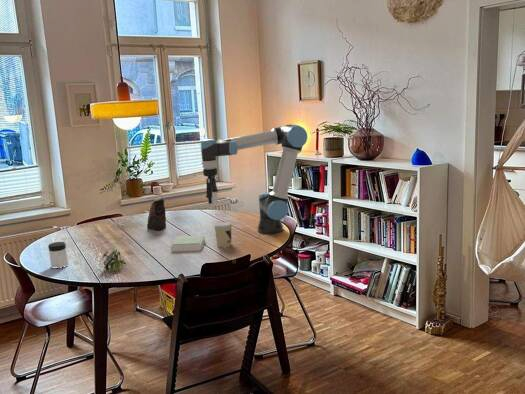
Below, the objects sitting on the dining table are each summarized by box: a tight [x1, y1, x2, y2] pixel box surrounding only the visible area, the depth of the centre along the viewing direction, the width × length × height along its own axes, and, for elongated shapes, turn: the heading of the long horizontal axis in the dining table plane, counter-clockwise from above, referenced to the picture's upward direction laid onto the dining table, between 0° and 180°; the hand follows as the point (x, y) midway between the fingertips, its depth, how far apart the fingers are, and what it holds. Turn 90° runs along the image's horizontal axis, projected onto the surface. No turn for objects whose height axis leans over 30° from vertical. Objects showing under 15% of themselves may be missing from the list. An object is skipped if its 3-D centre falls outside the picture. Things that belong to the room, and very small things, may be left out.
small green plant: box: [102, 249, 127, 273], centre depth 249 cm, size 11×11×12 cm
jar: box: [48, 241, 69, 268], centre depth 257 cm, size 9×8×12 cm
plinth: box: [170, 235, 206, 253], centre depth 280 cm, size 16×16×4 cm
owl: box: [146, 195, 167, 232], centre depth 320 cm, size 13×13×20 cm
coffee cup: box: [214, 221, 232, 248], centre depth 278 cm, size 9×9×12 cm
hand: (213, 206), depth 278 cm, fingers open, 13 cm apart
